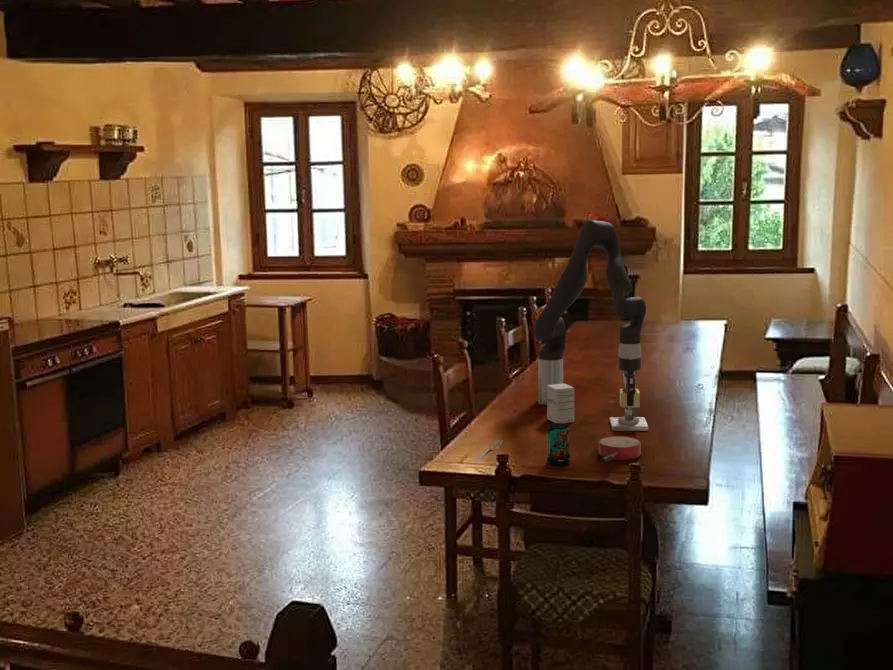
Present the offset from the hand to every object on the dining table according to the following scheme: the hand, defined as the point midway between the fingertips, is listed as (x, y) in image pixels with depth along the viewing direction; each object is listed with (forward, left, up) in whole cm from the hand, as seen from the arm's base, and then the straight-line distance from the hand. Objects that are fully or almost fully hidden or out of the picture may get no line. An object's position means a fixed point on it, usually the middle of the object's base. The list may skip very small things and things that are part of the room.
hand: (629, 403), depth 351 cm
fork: (-48, -33, -9) cm, 59 cm away
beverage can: (-25, -43, -8) cm, 51 cm away
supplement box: (-23, +7, -8) cm, 26 cm away
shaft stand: (0, 0, -8) cm, 8 cm away
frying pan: (-8, -43, -8) cm, 44 cm away
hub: (0, 0, -1) cm, 1 cm away
